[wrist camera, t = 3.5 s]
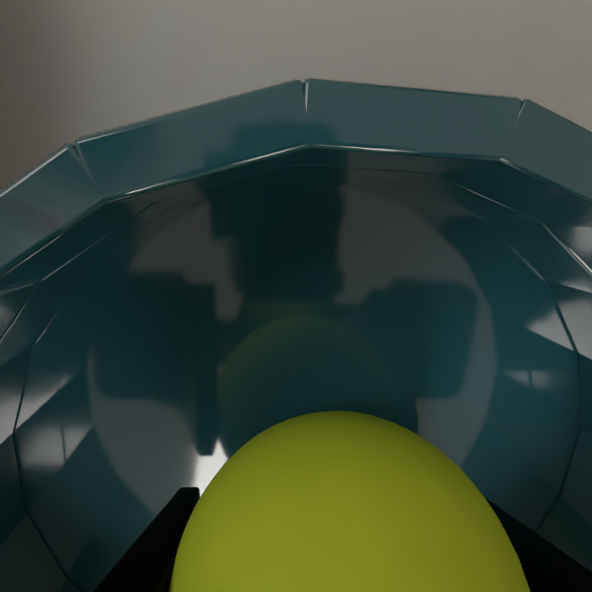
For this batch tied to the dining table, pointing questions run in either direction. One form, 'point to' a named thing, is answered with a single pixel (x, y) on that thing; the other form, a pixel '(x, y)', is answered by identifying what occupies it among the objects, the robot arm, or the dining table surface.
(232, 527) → the ball
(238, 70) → the dining table surface
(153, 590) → the robot arm
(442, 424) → the glazed bowl
